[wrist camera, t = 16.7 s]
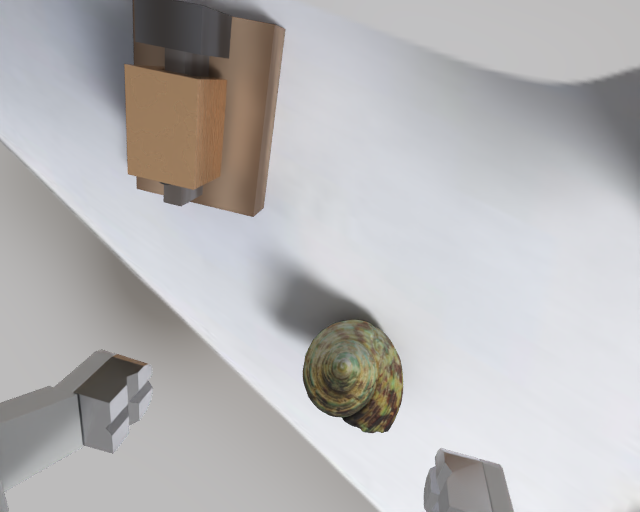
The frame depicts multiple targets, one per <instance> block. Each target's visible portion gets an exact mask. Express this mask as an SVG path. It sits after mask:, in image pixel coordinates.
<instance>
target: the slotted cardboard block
mask: <svg viewBox="0 0 640 512" xmlns="http://www.w3.org/2000/svg"><path fill="white" fill-rule="evenodd" d="M124 66H125V97H126V129H127V161H128V174H129V175H134V176H138V177H142V178H146V179H150V180H154V181H159V183H161V184H164V185H175V186H180V187H184V188H188V189H192V190H194V189H196V188H198V187H200V186H202V185H204V184H206V183H208V182H210V181H212V180H214V179H216V178H218V177H220V176H221V162H222V148H223V134H224V120H225V105H226V91H227V80H226V79H221V78H216V77H198V76H191V75H186V74H182V73H177V72H172V71H167V70H165V67H162V66H146V65H131V64H124Z"/></svg>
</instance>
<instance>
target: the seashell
mask: <svg viewBox="0 0 640 512" xmlns="http://www.w3.org/2000/svg"><path fill="white" fill-rule="evenodd" d="M303 381H304V385H305V388H306V391H307V394H308V397H309V398H310V400H311V401H312V403H313V404H314V405H315V406H316V407H317V408H318V409H319V410H321V411H322V412H324V413H326V414H328V415H330V416H333V417H342V418H343V420H344V421H345V422H346V423H348V424H350V425H351V426H354V427H358V428H360V429H361V430H362V431H363V432H368V433H375V432H376V431H377V432H381V433H383V432H387V431H388V430H389V429H390V427H391V425H392V424H393V422H394V420H395V418H396V415H397V413H398V411H399V407H400V405H401V401H402V394H403V373H402V366H401V360H400V358H399V356H398V354H397V351H396V349H395V348H394V346H393V344H392V342H391V341H390V339H389V338H388V337H387V336H386V335H385V334H384V333H383V332H382V331H381V330H380V329H378V328H376V327H374V326H373V325H372V324H370V323H368V322H366V321H363V320H346V321H341V322H337V323H334V324H332V325H330V326H329V327H327V328H325V329H324V330H323V331H321V332H320V333H319V334H318V336H317V337H316V338H315V339H314V340H313V341H312V343H311V345H310V347H309V349H308V351H307V353H306V356H305V362H304V367H303Z"/></svg>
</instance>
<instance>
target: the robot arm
mask: <svg viewBox="0 0 640 512" xmlns="http://www.w3.org/2000/svg"><path fill="white" fill-rule="evenodd" d="M151 376H152V366H151V365H149V364H147V363H144V362H141V361H137V360H134V359H131V358H128V357H125V356H122V355H119V354H115V353H111V352H108V351H105V350H99V351H96V352H94V353H93V354H92V355H91V356H90V357H89V358H87V359H86V360H85V361H84V362H83V363H82V364H80V365H79V366H78V367H77V368H76V369H75V370H74V371H72V372H71V373H70V374H69V375H68V376H67V377H65V378H64V379H63V380H62V381H61V382H60V383H58V384H57V385H56V386H55V387H51V386H47V387H45V388H42V389H39V390H36V391H33V392H31V393H27V394H25V395H22V396H19V397H16V398H13V399H10V400H7V401H4V402H2V403H0V512H8V511H9V508H8V505H7V501H6V497H5V493H4V492H6V491H7V490H9V489H11V488H13V487H14V486H16V485H18V484H20V483H21V482H23V481H25V480H27V479H28V478H30V477H32V476H33V475H35V474H37V473H39V472H40V471H42V470H44V469H46V468H47V467H49V466H51V465H53V464H55V463H56V462H58V461H60V460H62V459H63V458H65V457H67V456H68V455H70V454H72V453H73V452H75V451H77V450H79V449H80V448H82V447H83V445H84V446H88V447H92V448H95V449H99V450H103V451H106V452H109V453H114V452H115V451H116V449H117V448H118V447H119V446H120V444H121V443H122V442H123V441H124V439H125V438H126V437H127V436H128V434H129V425H131V424H133V423H135V422H137V421H139V420H140V419H141V418H142V416H143V415H144V414H145V412H146V411H147V408H148V406H149V404H150V402H151V398H152V394H153V393H152V389H153V387H152V386H151V384H150V383H149V381H148V380H149V379H150V377H151ZM435 465H436V466H435V467H433V468H431V469H430V470H429V473H428V475H427V478H426V483H425V488H424V508H425V510H426V512H514V510H513V506H512V502H511V499H510V495H509V491H508V487H507V483H506V479H505V475H504V472H503V468H502V467H501V466H500V464H496V463H493V462H489V461H485V460H482V459H478V458H475V457H471V456H468V455H464V454H461V453H457V452H453V451H450V450H446V449H443V448H440V449H439V450H438V452H437V454H436V456H435Z"/></svg>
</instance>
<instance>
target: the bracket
mask: <svg viewBox="0 0 640 512" xmlns="http://www.w3.org/2000/svg"><path fill="white" fill-rule="evenodd" d="M284 36H285V29H284V28H281V27H279V26H277V25H275V24H269V23H264V22H259V21H253V20H248V19H243V18H237V17H232V16H229V15H227V14H224V13H222V12H219V11H216V10H214V9H211V8H208V7H206V6H203V5H198V4H193V3H187V2H182V1H177V0H133V40H134V65H146V66H162V67H165V70H167V71H172V72H177V73H182V74H186V75H191V76H198V77H216V78H221V79H226V80H227V91H226V105H225V120H224V134H223V148H222V162H221V176H220V177H218V178H216V179H214V180H212V181H210V182H208V183H206V184H204V185H202V186H200V187H198V188H196V189H194V190H192V189H188V188H184V187H180V186H175V185H164V184H161V183H159V181H154V180H150V179H146V178H142V177H138V176H137V189H140V190H144V191H148V192H153V193H157V194H161V195H164V202H165V203H169V204H173V205H178V206H182V205H184V204H186V203H188V202H194V203H198V204H202V205H206V206H210V207H214V208H219V209H223V210H227V211H231V212H235V213H239V214H243V215H247V216H252V217H254V216H255V215H256V214H257V213H258V212H259V211H261V210H262V209H263V208H264V200H265V192H266V184H267V176H268V167H269V159H270V151H271V143H272V134H273V126H274V118H275V110H276V102H277V93H278V85H279V77H280V69H281V60H282V52H283V44H284Z"/></svg>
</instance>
